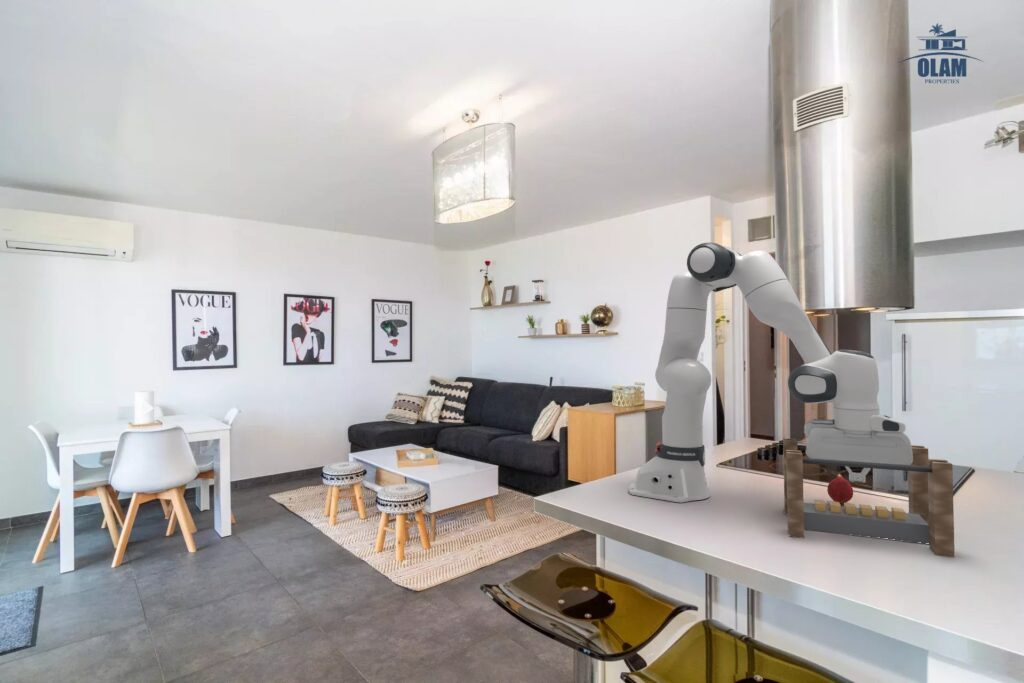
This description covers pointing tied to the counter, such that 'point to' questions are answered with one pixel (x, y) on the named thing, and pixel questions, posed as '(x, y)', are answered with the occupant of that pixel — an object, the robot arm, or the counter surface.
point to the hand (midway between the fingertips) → (857, 481)
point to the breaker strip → (865, 521)
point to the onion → (840, 490)
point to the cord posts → (924, 491)
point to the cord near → (868, 465)
